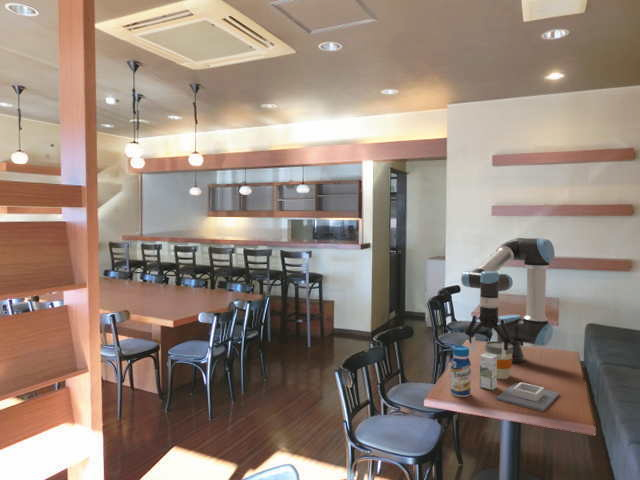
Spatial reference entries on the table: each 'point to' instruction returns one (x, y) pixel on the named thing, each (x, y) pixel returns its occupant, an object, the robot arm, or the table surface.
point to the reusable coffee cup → (502, 363)
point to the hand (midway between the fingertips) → (488, 354)
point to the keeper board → (528, 396)
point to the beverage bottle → (460, 372)
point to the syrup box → (488, 371)
